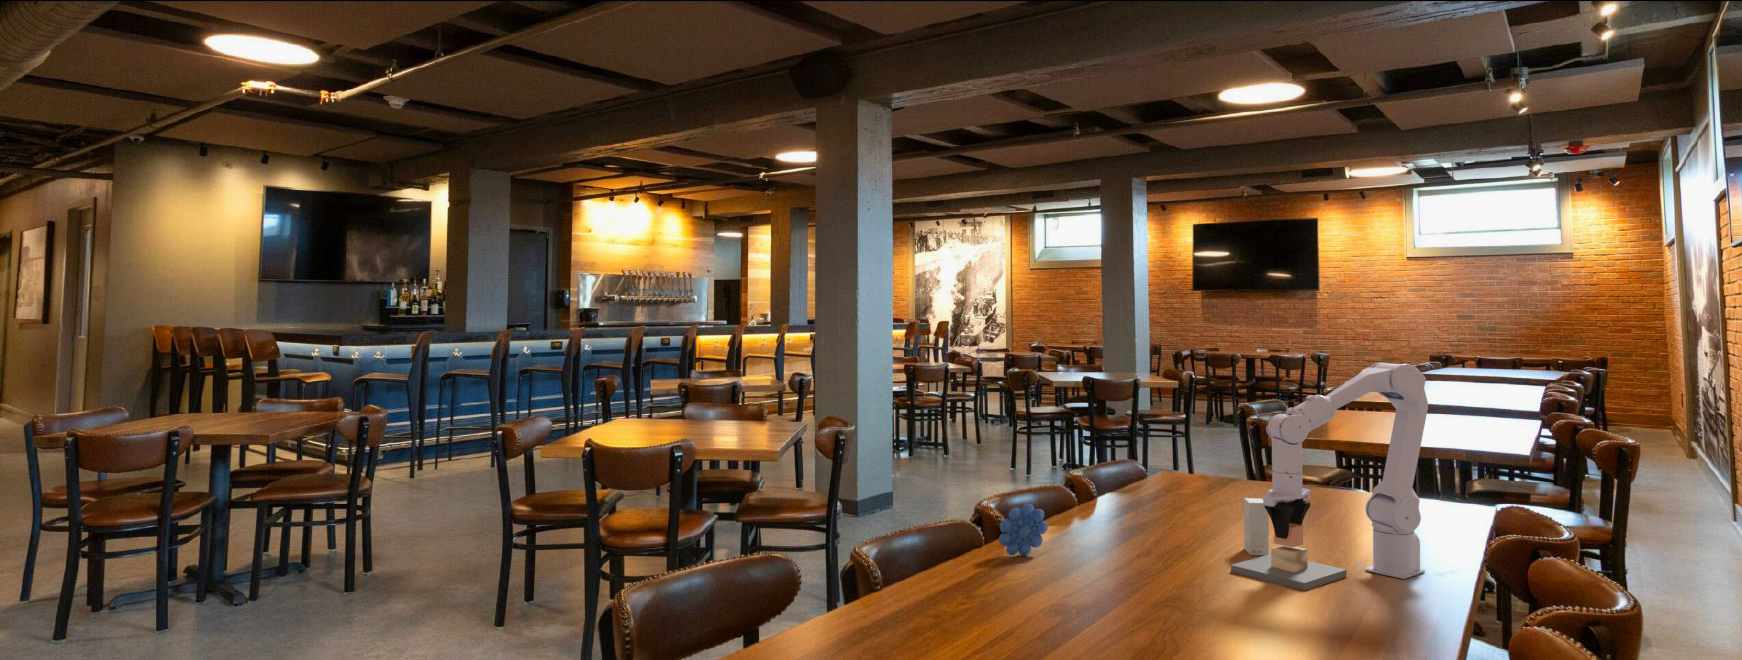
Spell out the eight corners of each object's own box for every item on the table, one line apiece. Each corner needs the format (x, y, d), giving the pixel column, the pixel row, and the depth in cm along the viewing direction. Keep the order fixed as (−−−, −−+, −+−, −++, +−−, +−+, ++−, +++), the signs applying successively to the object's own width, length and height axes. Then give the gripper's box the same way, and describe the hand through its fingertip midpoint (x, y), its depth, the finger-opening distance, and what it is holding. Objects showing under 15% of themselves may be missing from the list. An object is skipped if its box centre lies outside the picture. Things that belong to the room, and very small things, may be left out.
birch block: (1284, 562, 183) (1284, 544, 183) (1307, 568, 179) (1307, 549, 179) (1271, 566, 181) (1271, 547, 181) (1294, 572, 177) (1294, 552, 177)
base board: (1273, 559, 191) (1273, 553, 191) (1346, 576, 178) (1346, 569, 178) (1230, 571, 182) (1230, 564, 182) (1304, 590, 169) (1304, 583, 169)
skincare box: (1269, 556, 195) (1269, 503, 195) (1249, 555, 195) (1249, 502, 195) (1262, 549, 201) (1262, 498, 200) (1243, 548, 201) (1243, 497, 201)
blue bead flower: (1041, 549, 202) (1041, 499, 202) (1051, 557, 195) (1051, 504, 195) (993, 552, 200) (993, 500, 200) (1002, 560, 194) (1001, 506, 194)
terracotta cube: (1284, 540, 183) (1284, 521, 183) (1303, 544, 180) (1302, 525, 180) (1274, 543, 181) (1273, 524, 181) (1292, 547, 177) (1292, 528, 177)
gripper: (1288, 465, 188) (1288, 527, 188) (1249, 472, 179) (1250, 537, 179) (1320, 470, 182) (1320, 534, 182) (1281, 477, 174) (1282, 544, 174)
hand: (1287, 536), depth 180 cm, fingers closed on terracotta cube, 4 cm apart
